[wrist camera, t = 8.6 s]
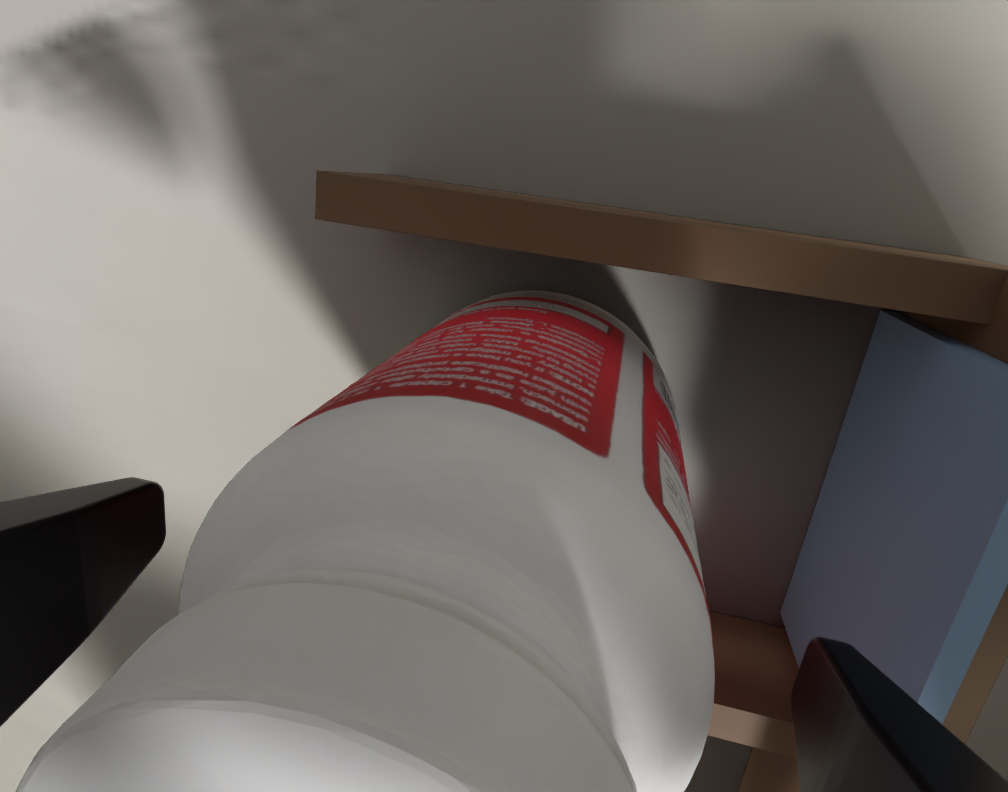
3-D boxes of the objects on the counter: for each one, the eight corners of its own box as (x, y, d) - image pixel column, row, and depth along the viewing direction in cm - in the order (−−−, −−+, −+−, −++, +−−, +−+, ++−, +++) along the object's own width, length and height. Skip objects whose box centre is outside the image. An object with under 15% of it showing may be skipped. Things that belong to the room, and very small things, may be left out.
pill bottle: (360, 409, 15) (-196, 851, 5) (537, 224, 13) (180, 355, 3) (539, 583, 16) (353, 1299, 6) (737, 432, 14) (1017, 1156, 4)
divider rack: (727, 912, 18) (763, 1208, 13) (344, 798, 20) (237, 1017, 15) (969, 257, 12) (1225, 313, 7) (383, 174, 14) (223, 165, 8)
